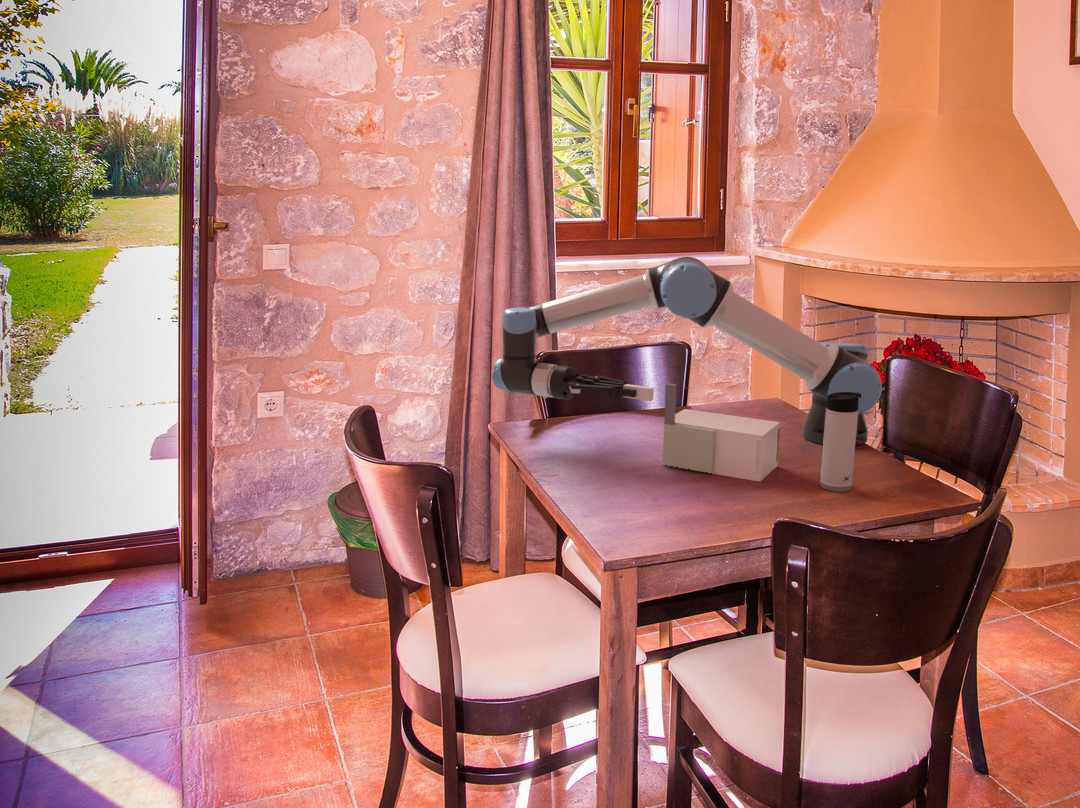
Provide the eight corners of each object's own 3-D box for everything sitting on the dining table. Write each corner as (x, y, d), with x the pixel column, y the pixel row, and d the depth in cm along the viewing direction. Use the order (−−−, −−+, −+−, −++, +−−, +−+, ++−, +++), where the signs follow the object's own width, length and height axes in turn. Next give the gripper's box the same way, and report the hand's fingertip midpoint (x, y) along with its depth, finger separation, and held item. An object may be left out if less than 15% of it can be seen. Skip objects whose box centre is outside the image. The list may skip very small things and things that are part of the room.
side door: (662, 464, 217) (665, 384, 212) (664, 463, 218) (667, 383, 213) (711, 472, 212) (715, 390, 207) (712, 471, 212) (717, 389, 208)
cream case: (662, 465, 218) (663, 421, 216) (682, 451, 229) (684, 408, 226) (760, 481, 208) (762, 435, 205) (777, 466, 218) (780, 422, 216)
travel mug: (854, 493, 201) (863, 397, 196) (820, 491, 203) (828, 395, 198) (851, 483, 207) (859, 390, 202) (818, 481, 208) (826, 388, 203)
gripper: (569, 391, 232) (663, 404, 221) (541, 403, 221) (639, 418, 210) (569, 360, 230) (664, 371, 219) (541, 370, 220) (640, 383, 208)
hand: (652, 394), depth 215 cm, fingers closed
